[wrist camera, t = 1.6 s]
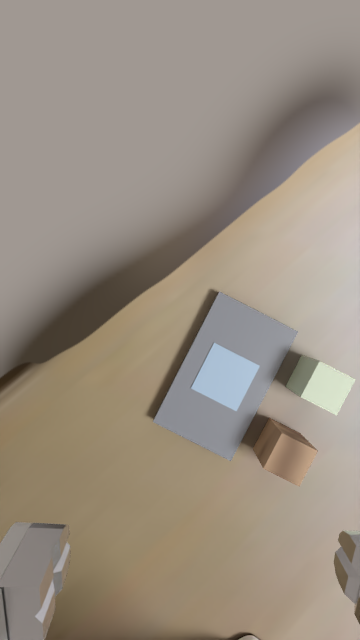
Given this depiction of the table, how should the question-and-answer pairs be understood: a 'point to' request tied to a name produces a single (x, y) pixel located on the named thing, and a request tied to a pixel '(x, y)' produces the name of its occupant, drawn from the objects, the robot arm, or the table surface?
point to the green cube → (320, 384)
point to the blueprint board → (225, 376)
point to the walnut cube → (284, 452)
